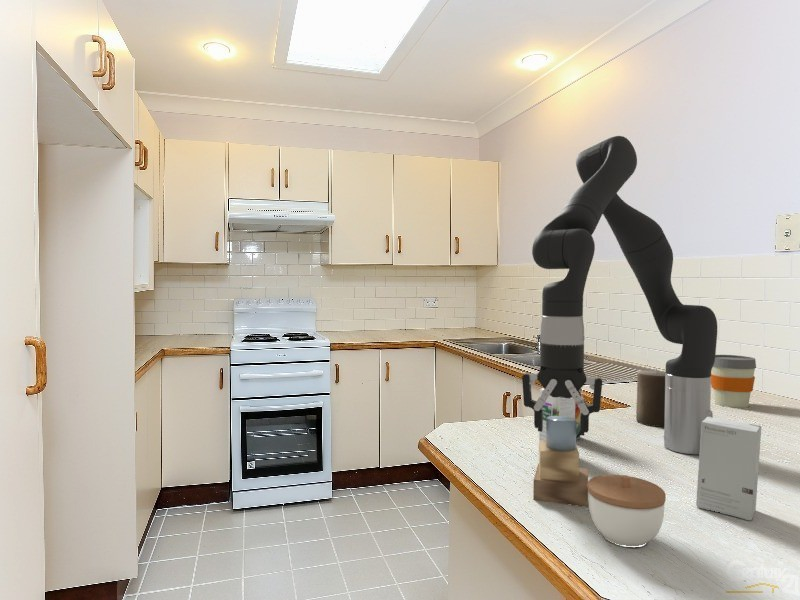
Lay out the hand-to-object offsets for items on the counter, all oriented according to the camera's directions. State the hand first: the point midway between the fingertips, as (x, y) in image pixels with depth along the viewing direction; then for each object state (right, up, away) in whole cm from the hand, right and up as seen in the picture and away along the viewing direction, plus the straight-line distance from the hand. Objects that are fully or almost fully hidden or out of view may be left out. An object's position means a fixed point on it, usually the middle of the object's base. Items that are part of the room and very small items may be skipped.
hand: (560, 432), depth 95 cm
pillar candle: (+41, -10, +49) cm, 65 cm away
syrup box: (+6, -11, +23) cm, 26 cm away
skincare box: (+26, -12, -6) cm, 29 cm away
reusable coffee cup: (+76, -9, +71) cm, 104 cm away
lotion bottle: (+13, -10, +35) cm, 39 cm away
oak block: (0, -8, 0) cm, 8 cm away
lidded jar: (+5, -12, -16) cm, 21 cm away
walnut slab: (0, -12, 0) cm, 12 cm away
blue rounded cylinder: (0, -3, 0) cm, 3 cm away
